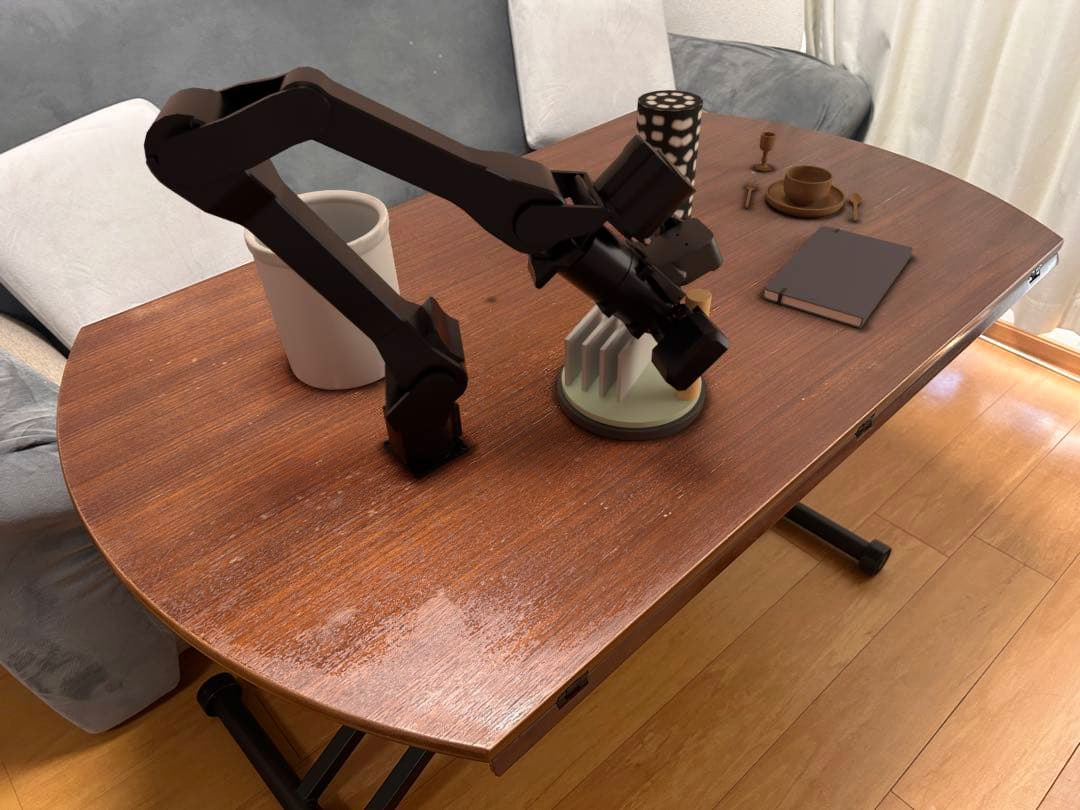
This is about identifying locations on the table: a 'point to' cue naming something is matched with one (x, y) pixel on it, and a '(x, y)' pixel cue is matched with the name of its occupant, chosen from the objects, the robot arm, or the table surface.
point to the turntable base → (629, 433)
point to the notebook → (838, 275)
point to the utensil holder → (308, 318)
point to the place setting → (801, 188)
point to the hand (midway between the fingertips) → (707, 351)
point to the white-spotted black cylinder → (672, 132)
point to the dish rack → (623, 373)
